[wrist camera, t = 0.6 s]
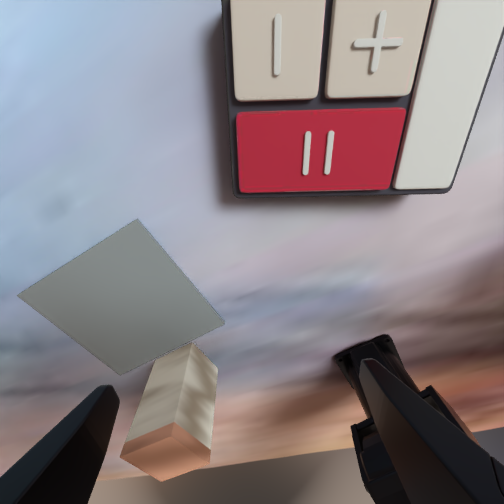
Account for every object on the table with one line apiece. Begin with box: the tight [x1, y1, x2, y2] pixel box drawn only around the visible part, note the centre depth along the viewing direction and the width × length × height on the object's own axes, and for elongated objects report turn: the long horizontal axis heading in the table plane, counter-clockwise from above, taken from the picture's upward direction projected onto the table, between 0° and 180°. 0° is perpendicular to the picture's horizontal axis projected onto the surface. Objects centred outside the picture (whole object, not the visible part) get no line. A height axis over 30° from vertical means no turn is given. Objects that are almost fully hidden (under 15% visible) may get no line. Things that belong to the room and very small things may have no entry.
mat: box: [17, 219, 225, 375], centre depth 23 cm, size 13×14×1 cm
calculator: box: [221, 0, 504, 198], centre depth 16 cm, size 11×4×15 cm
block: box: [120, 343, 218, 482], centre depth 23 cm, size 5×5×9 cm
